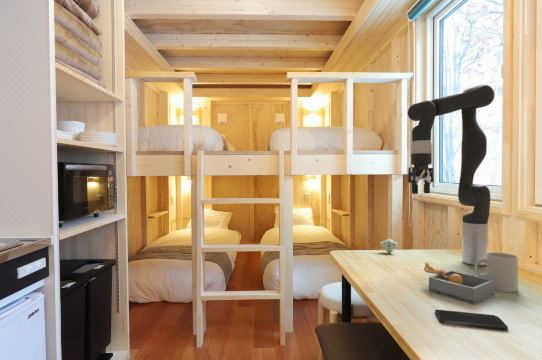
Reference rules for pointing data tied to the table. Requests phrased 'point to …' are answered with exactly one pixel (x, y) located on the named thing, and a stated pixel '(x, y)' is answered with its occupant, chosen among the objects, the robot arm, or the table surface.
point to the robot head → (389, 245)
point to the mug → (500, 271)
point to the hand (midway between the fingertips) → (421, 193)
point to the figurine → (452, 278)
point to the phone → (471, 320)
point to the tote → (462, 287)
